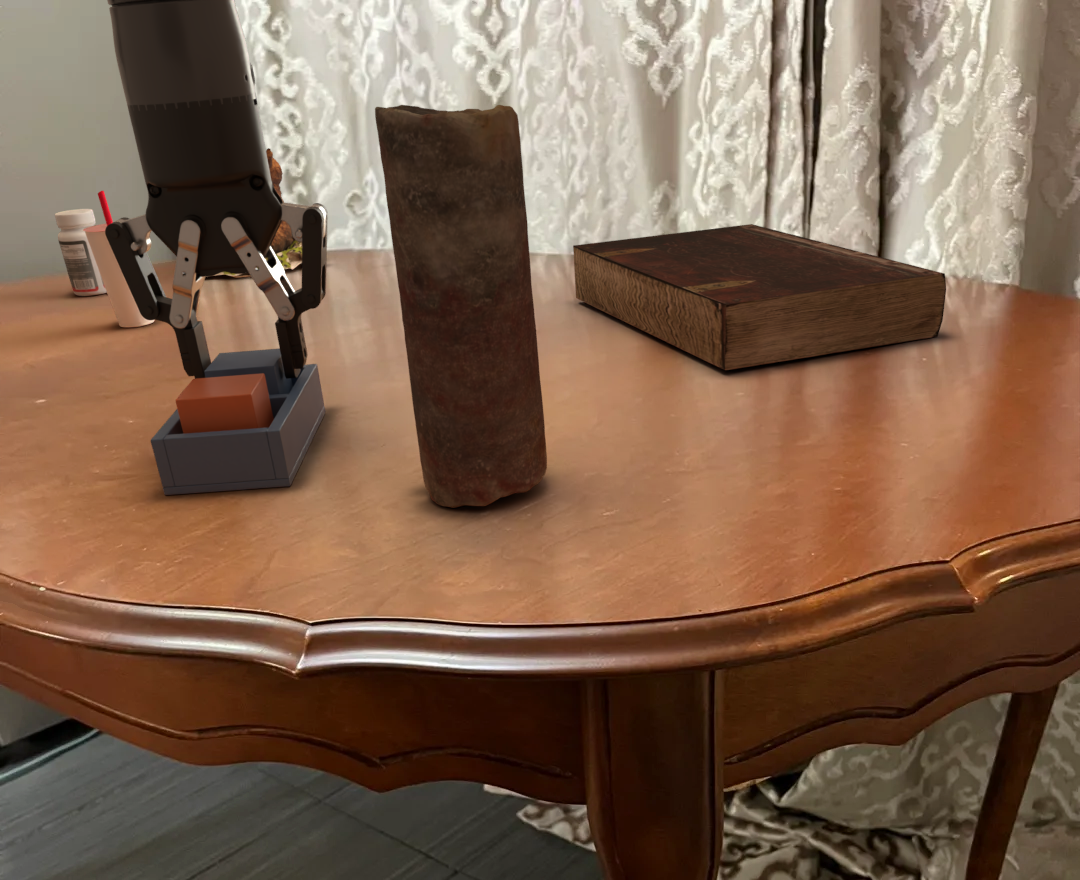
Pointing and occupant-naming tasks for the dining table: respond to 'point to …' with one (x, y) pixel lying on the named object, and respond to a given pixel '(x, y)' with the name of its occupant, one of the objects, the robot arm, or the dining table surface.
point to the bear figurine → (280, 228)
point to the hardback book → (758, 294)
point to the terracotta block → (225, 404)
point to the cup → (113, 273)
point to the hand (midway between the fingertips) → (249, 377)
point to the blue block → (253, 368)
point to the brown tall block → (465, 298)
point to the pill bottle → (79, 252)
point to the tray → (243, 446)
